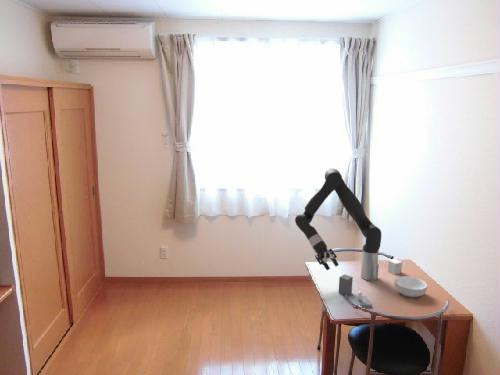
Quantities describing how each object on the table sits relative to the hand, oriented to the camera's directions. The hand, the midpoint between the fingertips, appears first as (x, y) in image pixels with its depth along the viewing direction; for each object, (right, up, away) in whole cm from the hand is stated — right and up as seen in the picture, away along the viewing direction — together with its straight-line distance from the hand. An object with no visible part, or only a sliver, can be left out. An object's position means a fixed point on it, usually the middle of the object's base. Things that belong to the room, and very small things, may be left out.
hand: (333, 267), depth 228 cm
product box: (+45, -8, +27) cm, 53 cm away
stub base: (+11, -16, -15) cm, 24 cm away
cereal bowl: (+42, -14, -4) cm, 45 cm away
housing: (+6, -13, -4) cm, 15 cm away
